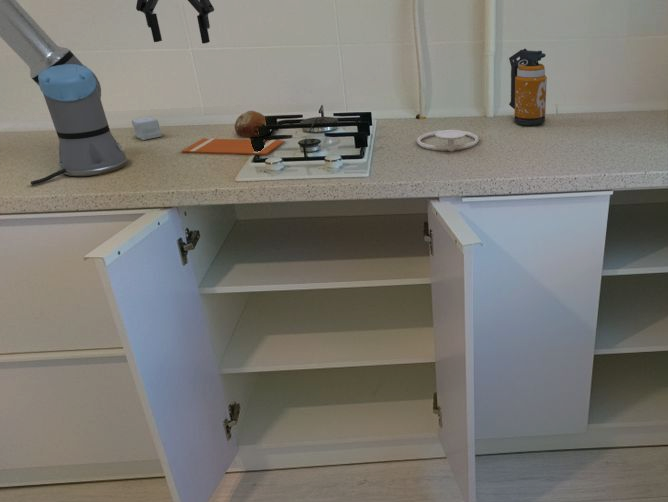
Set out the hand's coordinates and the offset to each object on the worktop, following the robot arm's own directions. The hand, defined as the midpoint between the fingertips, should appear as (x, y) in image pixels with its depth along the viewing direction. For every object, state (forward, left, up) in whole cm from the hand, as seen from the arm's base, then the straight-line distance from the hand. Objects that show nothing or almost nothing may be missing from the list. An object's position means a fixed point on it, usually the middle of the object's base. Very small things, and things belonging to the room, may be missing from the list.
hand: (181, 42), depth 176 cm
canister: (+25, -89, -26) cm, 96 cm away
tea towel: (-7, -12, -25) cm, 29 cm away
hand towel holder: (+1, -70, -26) cm, 75 cm away
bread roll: (+7, -12, -26) cm, 29 cm away
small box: (+1, +18, -26) cm, 31 cm away
